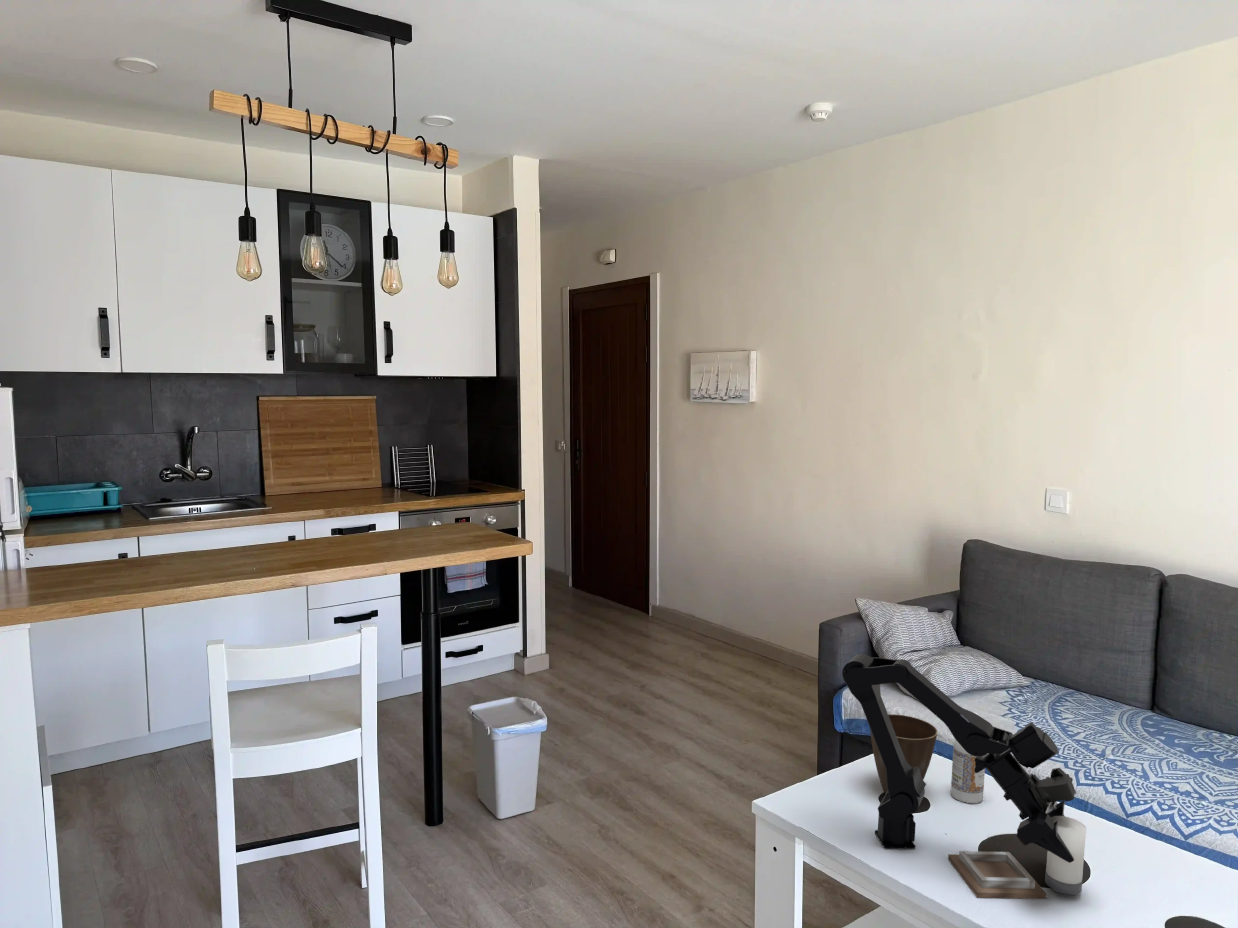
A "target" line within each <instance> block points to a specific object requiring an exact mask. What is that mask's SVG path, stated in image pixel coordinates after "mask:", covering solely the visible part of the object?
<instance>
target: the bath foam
mask: <svg viewBox="0 0 1238 928" xmlns="http://www.w3.org/2000/svg"><path fill="white" fill-rule="evenodd" d="M972 712H973V713H975V714H977V715H978V716H980V715H979V713H977V712H975V711H972ZM952 749H953V750H952V766H951V779H950V794H951V796H952V797H953V798H954V799H956V800H957V801H959V802H962V803H965V802H966V803H967V804H979V803H981V802H982V801H983V800H984V789H985V788H984V787H985V775H986V773H985V771H986V768H985V769H983V770H982V771H980V772H979V773H975V772H974V770H975V757H976V756H972V755H970V754H969V753H967V752H966V751H965V750H964V749H963V747H962V746H961V745H960V744H959V743H958V742H957V740H956V739H955V738H954V743H953V747H952Z"/></svg>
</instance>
